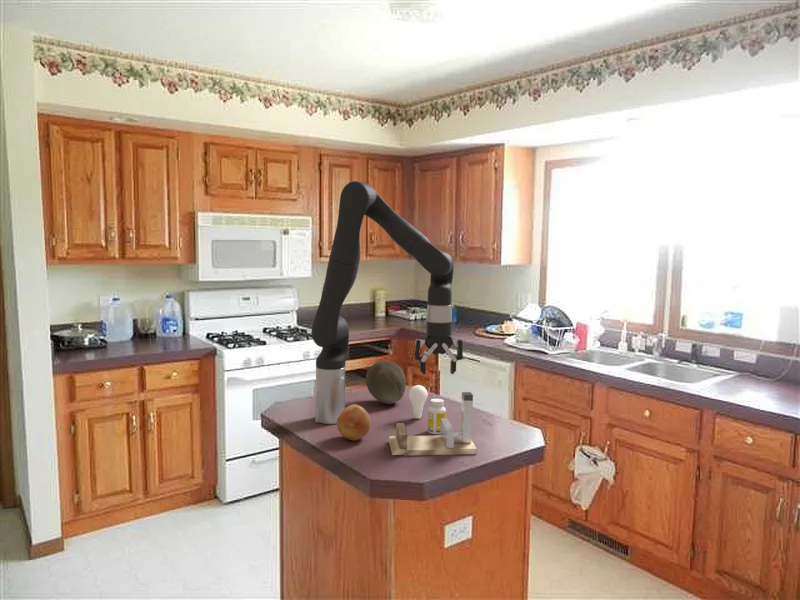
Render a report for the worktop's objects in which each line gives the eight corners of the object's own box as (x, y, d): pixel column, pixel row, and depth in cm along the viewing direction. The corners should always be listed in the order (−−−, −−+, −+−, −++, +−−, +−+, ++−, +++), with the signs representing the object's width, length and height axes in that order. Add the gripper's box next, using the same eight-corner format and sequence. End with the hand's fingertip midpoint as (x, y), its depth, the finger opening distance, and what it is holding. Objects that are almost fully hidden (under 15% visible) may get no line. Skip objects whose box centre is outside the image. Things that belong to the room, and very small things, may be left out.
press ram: (446, 447, 156) (447, 398, 155) (439, 435, 166) (441, 389, 165) (474, 447, 157) (475, 398, 156) (466, 434, 167) (467, 388, 165)
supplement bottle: (447, 430, 176) (448, 398, 175) (442, 435, 171) (443, 403, 170) (430, 428, 178) (431, 397, 177) (425, 433, 172) (426, 401, 171)
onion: (332, 435, 169) (332, 402, 168) (363, 431, 173) (364, 399, 172) (342, 446, 160) (343, 411, 159) (376, 442, 164) (376, 408, 163)
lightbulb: (427, 416, 189) (428, 383, 188) (426, 422, 183) (427, 388, 182) (409, 415, 190) (409, 382, 189) (407, 421, 184) (408, 387, 183)
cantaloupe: (404, 397, 211) (405, 357, 209) (406, 409, 197) (407, 366, 195) (365, 397, 210) (366, 357, 209) (365, 409, 196) (365, 365, 195)
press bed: (392, 455, 154) (392, 435, 154) (388, 441, 165) (389, 422, 165) (476, 454, 157) (477, 434, 156) (468, 440, 168) (468, 421, 167)
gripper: (416, 321, 166) (415, 377, 168) (465, 321, 168) (464, 376, 169) (413, 318, 174) (412, 371, 175) (460, 318, 175) (458, 370, 177)
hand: (438, 373), depth 172 cm, fingers open, 8 cm apart
